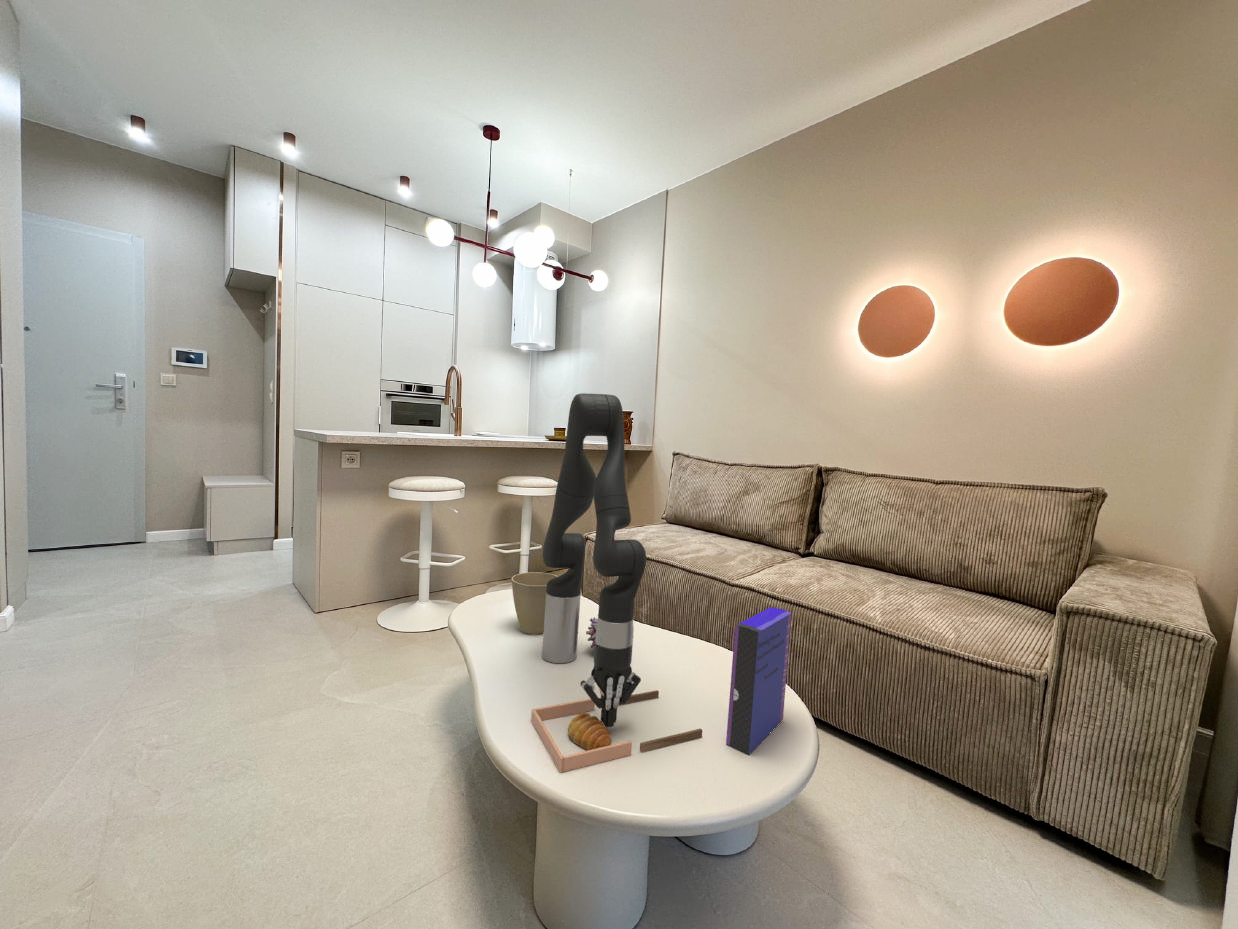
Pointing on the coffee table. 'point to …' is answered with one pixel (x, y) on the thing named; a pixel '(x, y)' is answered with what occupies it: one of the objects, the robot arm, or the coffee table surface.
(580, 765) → the terracotta pen
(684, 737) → the walnut chute
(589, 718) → the pastry
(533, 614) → the plant pot
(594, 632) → the purple spiky ball
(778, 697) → the cereal box
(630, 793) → the coffee table surface
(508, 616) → the coffee table surface
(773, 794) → the coffee table surface
